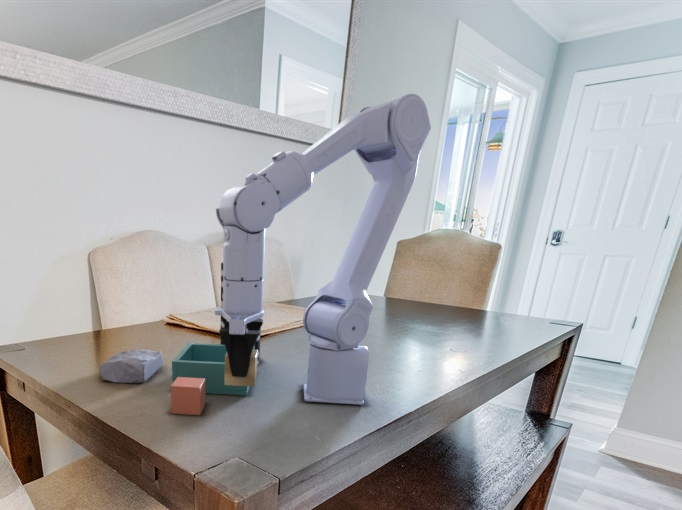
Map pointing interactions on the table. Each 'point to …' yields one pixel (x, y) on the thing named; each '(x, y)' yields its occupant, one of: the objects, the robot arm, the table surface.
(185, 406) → the coral block
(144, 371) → the stone block
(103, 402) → the table surface
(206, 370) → the teal storage bin
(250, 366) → the maple block
